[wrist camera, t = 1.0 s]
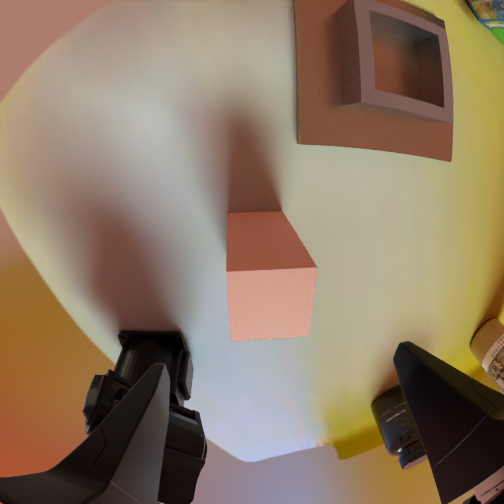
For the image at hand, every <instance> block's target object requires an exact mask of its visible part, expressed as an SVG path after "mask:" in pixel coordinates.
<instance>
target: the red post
mask: <svg viewBox="0 0 504 504" xmlns="http://www.w3.org/2000/svg"><path fill="white" fill-rule="evenodd" d="M226 274H227V290H228V304H229V318H230V332H231V341H243V340H260V339H275V338H287V337H298V336H308V335H309V330H310V323H311V316H312V308H313V300H314V292H315V283H316V274H317V266H316V265H315V263H314V261H313V260H312V258H311V256H310V255H309V253H308V251H307V250H306V248H305V246H304V245H303V243H302V242H301V240H300V238H299V237H298V235H297V234H296V232H295V230H294V229H293V227H292V226H291V224H290V222H289V221H288V219H287V218H286V216H285V214H284V213H283V211H266V212H235V213H228V222H227V264H226Z"/></svg>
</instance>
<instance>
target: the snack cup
mask: <svg viewBox="0 0 504 504" xmlns="http://www.w3.org/2000/svg"><path fill="white" fill-rule="evenodd" d="M467 1H468V3H469V6H470V8H471V9H472V11H473V12H474V14H475V15H476V16H477V18H478V20H479V21H480V22H481V23H482V24H483V25H485V26H486V27H487V28H488V29H490V30H491V31H492V33H493V34H494V36H495V37H496V38H497V39H498V40H499V41H500V42H501V43H502V44H503V45H504V0H467Z"/></svg>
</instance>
